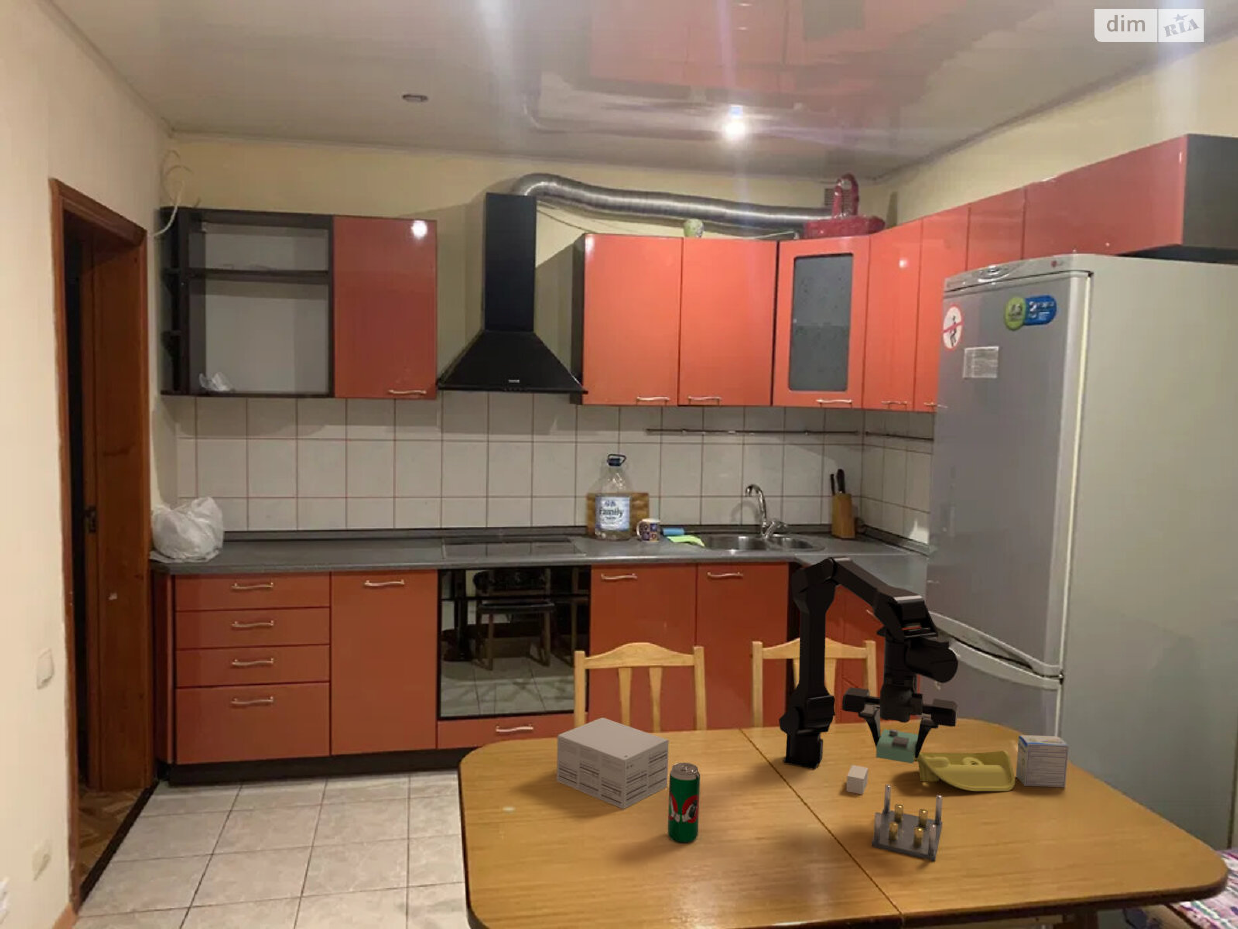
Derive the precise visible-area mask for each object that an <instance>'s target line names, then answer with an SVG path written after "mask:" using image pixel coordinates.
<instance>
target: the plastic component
mask: <svg viewBox="0 0 1238 929" xmlns="http://www.w3.org/2000/svg"><path fill="white" fill-rule="evenodd" d="M914 762H917V764H918V769H919V776H920V782H940V780H941V781H943V782H945V783H946V784H948V785H950V786H951V787H955V788H957V789H960V790H964V791H971V792H1008V791H1011V790H1012V789H1014V786H1015V785H1016V777H1015V772H1014V769H1013V763H1012V761H1011V757H1010V754H1009V752H1008V751H1006V750H1001V751H1000V750H997V751H988V752H933V751H932V752H923V751H922V752H921V751H920V753H919V756H918V758H914V761H913V763H914Z"/></svg>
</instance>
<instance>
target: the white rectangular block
mask: <svg viewBox="0 0 1238 929" xmlns="http://www.w3.org/2000/svg"><path fill="white" fill-rule="evenodd" d="M868 776H869V767H864V766H860V765H854V764H852V765H851V766H850V769H849V771H848V773H847V776H846V790H845V791H846V792H848V793H849V792H850V793H853V794H859V795H864V792H865V790H866V788H867V785H868V778H869V777H868Z"/></svg>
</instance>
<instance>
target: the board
mask: <svg viewBox="0 0 1238 929" xmlns="http://www.w3.org/2000/svg"><path fill="white" fill-rule="evenodd" d="M917 739H918V734H917V733H912V732H905V731H898V729H894V728H890V729H885V728H884V729H882V732H881V737H880V739H879V741H878V744H877V746H875V750H876V752H875V758H876V759H883V760H888V761H889V760H890V761H896V762H901V763H907V764H914V762H913V761H914V758H915V750H916V744H917Z"/></svg>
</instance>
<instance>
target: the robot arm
mask: <svg viewBox="0 0 1238 929" xmlns="http://www.w3.org/2000/svg"><path fill="white" fill-rule="evenodd" d="M790 583H791V584H790V586H791V593H792V600H793V602H794V603H795V604H796V606H797V608H798V610H799V612H800V616H799V658H798V659H799V660H798V661H799V663H798V664H799V665H798V683H797V685H796V686H795V689H794V690H793V692H792V694H791V695H790V699H789V705H788V706H789V708H788V710H787V711H786V712H785V713H784V714H782V716H781V717H780V718H778V722H779V723H778V724H779V729H780V731H781V732H783V733H784V734H786V741H785V742H786V745H785V746H786V747H785V757H784V758H783V761H782V762H783V763H784V764H788V765H792V766H797V767H801V768H808V769H812V770H816V769H817V766H818V765H819V764H820V763H821V762H822V760H823V756H824V755H823V753H824V739H823V738H821V736H822V733H828V732H829V730H830V726H831V724H832V723H833V721H834V716H836V712H835V711H836V710H835V703H836V698H835V696H834V695H832V694H830V692H829V691H828V689H827V687H826V685H825V676H826V675H825V673H826V671H825V670H826V669H825V667H826V632H827V631H826V627H827V624H826V623H827V622H826V620H827V619H826V618H827V613H828V610H829V609H830V607H831V606H832V605H833V602H834V600H835V598H836V597H835V596H836V589H837V588H838V587H839V586H842V587H843V588H845V589H847V590H848V591H850V592H851V593H852V594H854V595H855V596H856V597H857V598H859V599H861V600H862V601H863V602H865V603H866V604H868V605H869V606H870V607H871V608H872V612H873V616H874V617H875V618H876V620H878V621H879V622H880V623H881V625H882V627H880V628H879V629H877V631H875V632H876V633H875V634H876V635H877V636H879V637H882V638H884V642H883V643H884V645H883V646H884V650H883V669H882V670H883V673H882V674H883V675H882V676H883V678H882V686H881V688H880V691H879V696H873V695H871V692H870V689H868V688H867V689H865V688H860V687H851V686H849V688H848V689H846V690H845V693H844V694H843V695H842V702H841V710H842V711H844V712H849V713H855V714H856V713H857V716H858V717H859V718H861V719H863V720H864V721H865V722H866V723H867V725H868V727H869V730H870V732H871V735H872V736H871V737H872V740H873V743H874V746H875V747H876V746H877V744H878V741H879V739H880V737H881V734H882V732H881V720H884V721H890V720H891V721H894V722H895V721H896V722H899V723H901V724H902V723H903V724H905V723H909V722H910V719H911V716H915V717H916V716H921V719H920V723H919V729H918V739H917V744H916V750H915V758H918V756H919V753H920V752H921V751H922V749H923V746H924V743H925V740H926V738H927V736H928V735H929V733H930V731H931V730H932V729H933V730H934V729H939V726H944V727H951V728H953V727H956V724H957V721H958V720H957V719H958V709H959V708H958V704H957V703H956V702H955V701H953V700H946V699H939V698H933V700H932V703H931V704H930V703H924V696H923V695H924V694H923V693H920V692H918V684H919V682H918V681H919V680H918V679H919V678H918V677H919V676H921V677H924V678H926V679H930V680H932V681H934V682H937V683H940V684H946V683H948V682H950V681H951V680H952V679H953V678H954V677H955V676H956V674H957V671H958V668H959V660H958V658H957V655H956V653H955V652H954V651H953V650H952V649H951V648H950V642H949V641H948V640H946V639H940V638H938V637H939V632H938V630H937V628H936V627H937V626H936V624H935V622H934V620H933V618H932V615H931V614H930V612H929V609H928V607H927V605H926V601H925V599H924V598H923V597H922V595H920V594H918V593H915V592H912V591H911V590H908V589H905V588H900V587H894V586H891V585H888V584H887V583H886V582H884V581H883V580H881V579H880V578H878V577H877V576H875V575H874V574H872V573H870V572H869V571H867V570H866V569H865V568H863V567H861V566H860V565H858V564H857V563H856V562H854V560H853V559H852V558H851V557H848V556H846V555H840V556H839V555H837V556H828V557H826V558H824V559H823V560H821V561H819V562H817V563H815V564H812V565H810V566H806V567H804V568H798V569H796V570H795V572H794V573H792V576H791V580H790ZM918 627H919V628H918Z"/></svg>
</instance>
